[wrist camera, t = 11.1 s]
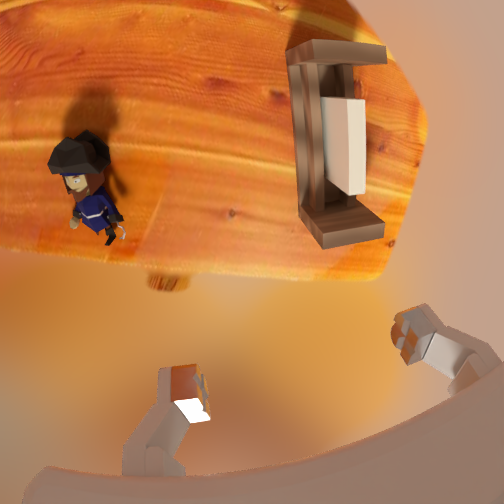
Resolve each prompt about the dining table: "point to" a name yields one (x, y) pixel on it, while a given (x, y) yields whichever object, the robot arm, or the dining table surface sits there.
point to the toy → (87, 181)
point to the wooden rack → (311, 140)
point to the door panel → (344, 143)
